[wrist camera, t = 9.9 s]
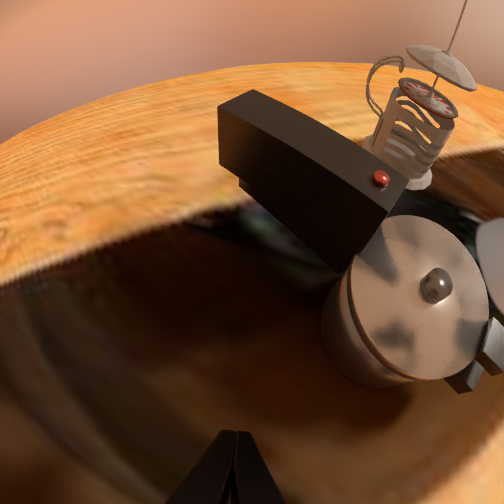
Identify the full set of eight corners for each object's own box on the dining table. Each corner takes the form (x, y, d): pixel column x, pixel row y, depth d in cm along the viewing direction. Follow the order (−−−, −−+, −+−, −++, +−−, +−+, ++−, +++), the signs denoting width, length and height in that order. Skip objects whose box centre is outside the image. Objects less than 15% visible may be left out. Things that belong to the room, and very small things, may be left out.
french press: (433, 202, 28) (539, 15, 6) (341, 162, 29) (407, -62, 8) (429, 152, 32) (500, -1, 11) (352, 119, 34) (399, -52, 12)
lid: (509, 303, 15) (555, 272, 11) (464, 430, 11) (529, 423, 6) (280, 127, 22) (288, 70, 17) (177, 198, 18) (163, 131, 13)
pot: (463, 341, 20) (508, 319, 15) (406, 434, 16) (455, 435, 11) (288, 179, 28) (298, 130, 22) (205, 236, 24) (198, 187, 19)
